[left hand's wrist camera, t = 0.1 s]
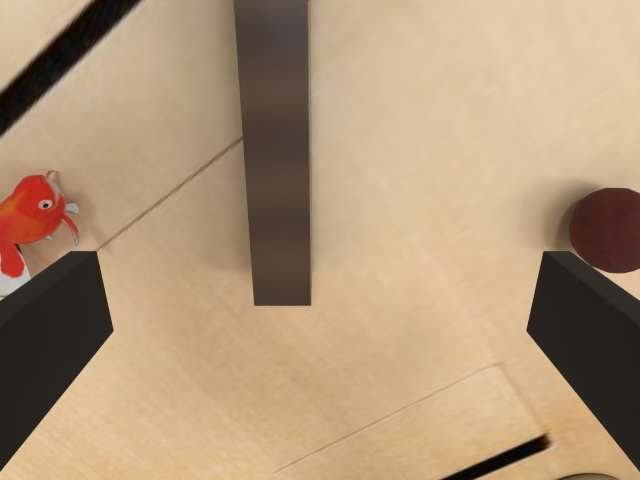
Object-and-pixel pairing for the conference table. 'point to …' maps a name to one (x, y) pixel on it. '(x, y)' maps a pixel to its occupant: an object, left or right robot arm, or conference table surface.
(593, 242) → the dark maroon ball
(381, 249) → the conference table surface
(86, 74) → the conference table surface
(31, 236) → the fish
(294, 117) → the beam
